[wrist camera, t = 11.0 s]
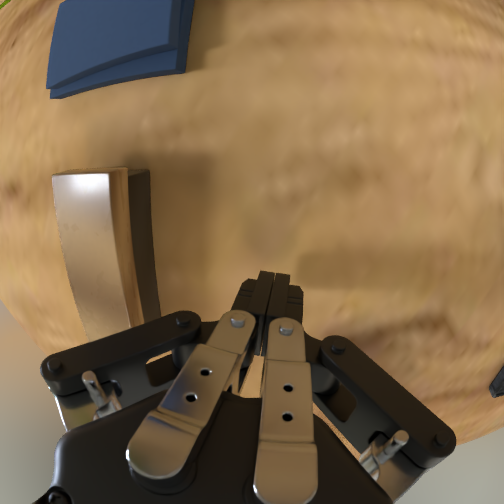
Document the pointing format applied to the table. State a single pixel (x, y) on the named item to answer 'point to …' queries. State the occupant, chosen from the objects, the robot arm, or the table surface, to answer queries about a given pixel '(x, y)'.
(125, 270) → the tan two-tone block
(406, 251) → the table surface
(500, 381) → the phone
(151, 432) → the robot arm
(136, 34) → the folded cloth
